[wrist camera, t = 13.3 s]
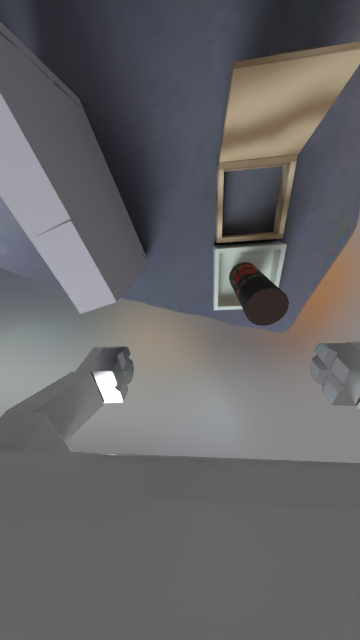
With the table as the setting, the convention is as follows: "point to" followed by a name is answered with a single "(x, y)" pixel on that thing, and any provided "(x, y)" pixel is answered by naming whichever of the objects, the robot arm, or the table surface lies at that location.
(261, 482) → the robot arm
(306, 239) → the table surface
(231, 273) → the deodorant
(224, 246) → the tray
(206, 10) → the table surface
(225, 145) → the beige flat board
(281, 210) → the frame
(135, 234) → the game console
